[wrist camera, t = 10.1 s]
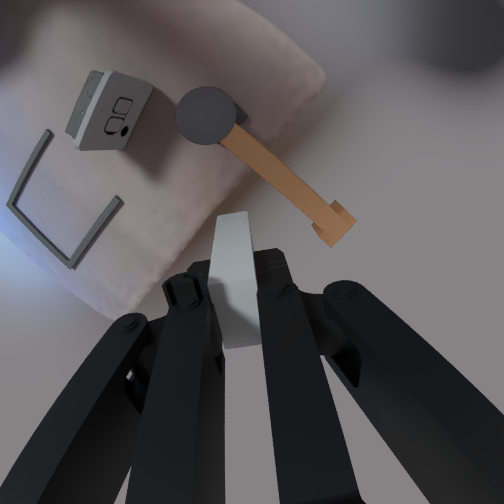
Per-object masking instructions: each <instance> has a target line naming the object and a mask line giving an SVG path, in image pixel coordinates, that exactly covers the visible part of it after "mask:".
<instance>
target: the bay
mask: <svg viewBox="0 0 504 504" xmlns="http://www.w3.org/2000/svg"><path fill="white" fill-rule="evenodd" d="M51 134H52V132H51V131H50V130H49V129H46V130H45V132H44V134H43V135H42V137H41V139H40V140H39V142H38V144H37V145H36V147H35V149H34V151H33V152H32V154H31V156H30V158H29V160H28V161H27V163H26V165H25V167H24V169H23V171H22V173H21V175H20V177H19V179H18V181H17V183H16V185H15V187H14V189H13V191H12V193H11V195H10V198H9V200H8V202H7V204H6V206H7V207H8V208H9V209H10V210H11V211H12V212H13V213H14V214H15V216H16V217H17V218H18V219H19V220H20V221H21V222H22V223H23V224H24V225H25V226H26V227H27V228H28V229H29V230H30V231H31V232H32V233H33V234H34V235H35V236H36V237H37V238H38V239H39V240H40V241H41V242H42V243H43V244H44V245H45V246H46V247H47V248H48V249H49V250H50V251H51V252H52V253H53V254H54V255H55V256H56V257H57V258H58V259H59V260H60V261H61V262H62V263H64V264H65V265H66V266H67V267H68V268H69V269H71V268H72V267H73V265H74V264H75V262H76V261H77V259H78V258H79V257H80V255H81V254H82V252H83V251H84V249H85V248H86V247H87V245H88V244H89V242H90V241H91V240H92V238H93V237H94V235H95V234H96V233H97V231H98V230H99V229H100V227H101V226H102V225H103V223H104V222H105V221H106V219H107V218H108V217H109V215H110V214H111V213H112V211H113V210H114V209H115V208H116V206H117V205H118V204H119V203H120V201H121V199H120V198H119V197H118V196H117V195H116V196H115V197H114V198H113V199H112V201H111V202H110V203H109V205H108V206H107V207H106V209H105V210H104V211H103V213H102V214H101V215H100V217H99V218H98V219H97V221H96V222H95V223H94V225H93V226H92V228H91V229H90V230H89V232H88V233H87V235H86V236H85V238H84V239H83V240H82V242H81V243H80V245H79V246H78V248H77V249H76V251H75V252H74V254H73V255H72V257H71V258H70V259H68V258H67V257H66V256H65V255H64V254H63V253H62V252H61V251H60V250H59V249H58V248H57V247H56V246H55V245H54V244H53V243H52V242H51V241H49V240H48V239H47V238H46V237H45V236H44V235H43V234H42V233H41V232H40V231H39V230H38V229H37V228H36V227H35V226H34V225H33V223H32V222H31V221H30V220H29V219H28V218H27V217H26V216H25V215H24V214H23V213H22V212H21V211H20V210H19V209H18V208H17V207H16V206H15V204H14V202H15V200H16V197H17V195H18V193H19V191H20V189H21V187H22V185H23V183H24V181H25V179H26V177H27V176H28V174H29V172H30V170H31V168H32V166H33V164H34V163H35V161H36V159H37V157H38V156H39V154H40V152H41V150H42V149H43V147H44V145H45V144H46V142H47V141H48V139H49V137H50V136H51Z"/></svg>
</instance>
